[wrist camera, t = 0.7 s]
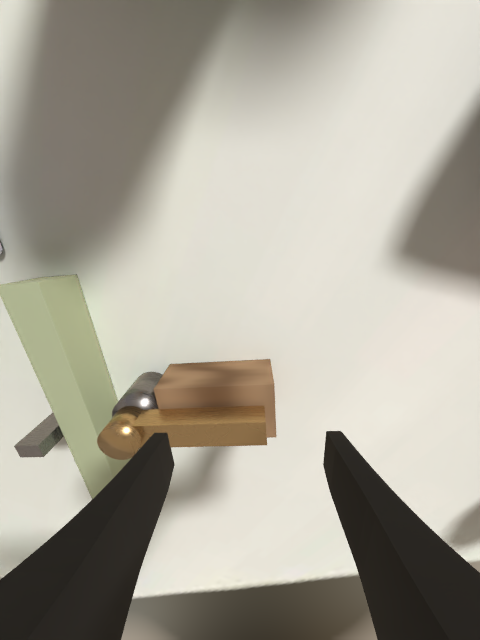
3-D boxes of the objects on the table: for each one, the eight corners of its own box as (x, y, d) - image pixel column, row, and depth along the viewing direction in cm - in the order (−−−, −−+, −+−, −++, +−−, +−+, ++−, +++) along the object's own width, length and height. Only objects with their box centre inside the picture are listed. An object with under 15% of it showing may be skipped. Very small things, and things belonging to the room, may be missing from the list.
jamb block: (179, 408, 22) (166, 439, 18) (169, 364, 20) (153, 389, 17) (272, 405, 21) (276, 437, 18) (270, 359, 19) (274, 384, 16)
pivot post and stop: (68, 411, 22) (20, 457, 18) (53, 376, 21) (-3, 415, 16) (177, 408, 22) (157, 454, 17) (169, 371, 20) (144, 410, 16)
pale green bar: (115, 471, 25) (95, 505, 22) (41, 277, 18) (-5, 285, 15) (140, 471, 25) (124, 505, 22) (76, 274, 18) (37, 281, 14)
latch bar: (120, 434, 18) (103, 460, 16) (111, 406, 17) (91, 429, 15) (265, 430, 17) (267, 457, 15) (264, 400, 16) (266, 424, 14)
